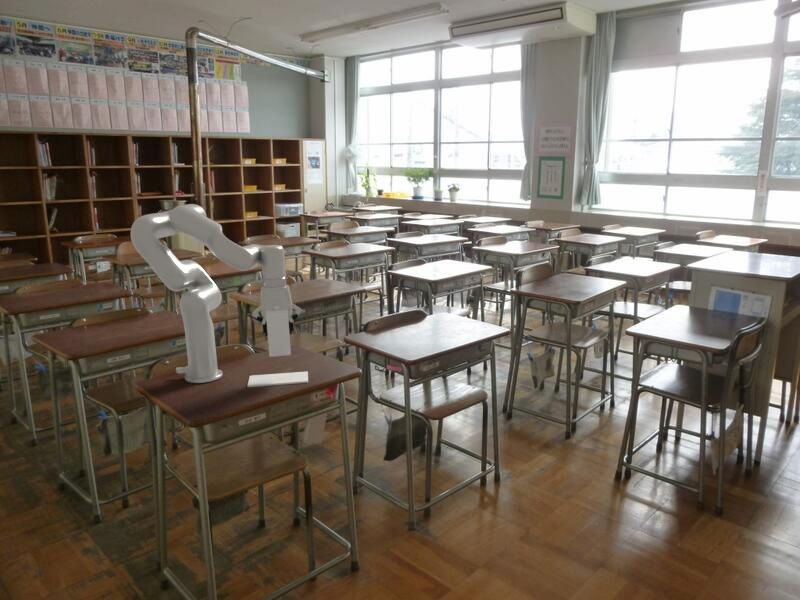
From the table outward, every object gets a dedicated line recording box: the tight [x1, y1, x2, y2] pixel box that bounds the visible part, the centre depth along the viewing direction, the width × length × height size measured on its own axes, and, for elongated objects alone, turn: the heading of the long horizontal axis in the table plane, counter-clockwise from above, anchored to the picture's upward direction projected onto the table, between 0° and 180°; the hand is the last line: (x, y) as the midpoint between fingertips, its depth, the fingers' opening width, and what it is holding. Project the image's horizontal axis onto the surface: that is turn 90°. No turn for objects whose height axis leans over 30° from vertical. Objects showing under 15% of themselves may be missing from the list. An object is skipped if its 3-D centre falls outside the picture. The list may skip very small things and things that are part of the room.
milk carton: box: [266, 306, 292, 357], centre depth 206 cm, size 7×7×19 cm
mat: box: [246, 370, 309, 388], centre depth 210 cm, size 20×10×1 cm, turn 99°
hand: (278, 333), depth 206 cm, fingers closed on milk carton, 7 cm apart
